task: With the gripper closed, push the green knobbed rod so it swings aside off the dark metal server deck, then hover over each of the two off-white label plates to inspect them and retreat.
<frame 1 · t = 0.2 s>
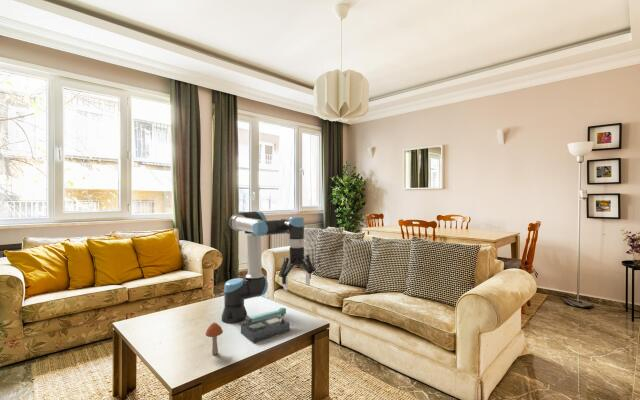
hand: (296, 287, 168), 28 cm above the table, fingers open, 13 cm apart
green knobbed rod: (266, 315, 179), point 9 cm above the table, hinge at 0.0°
mushroom: (214, 353, 156), on the table
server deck: (265, 332, 179), on the table
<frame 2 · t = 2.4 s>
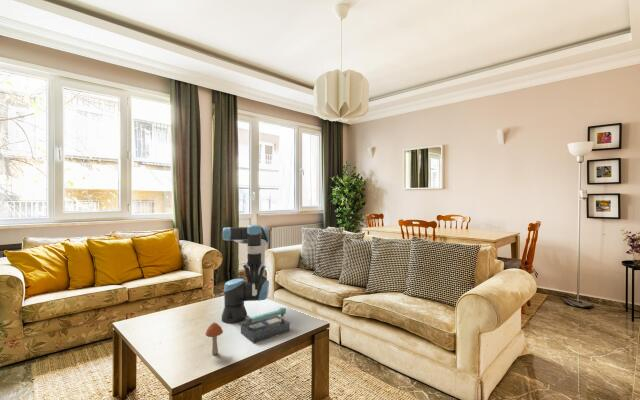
hand: (254, 295, 181), 20 cm above the table, fingers closed
nothing on the table moved.
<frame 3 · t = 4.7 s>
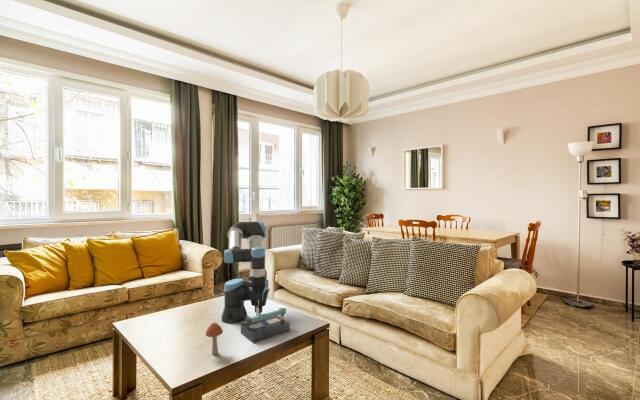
hand: (258, 318, 179), 8 cm above the table, fingers closed
green knobbed rod: (266, 315, 179), point 9 cm above the table, hinge at 0.0°, touching gripper
everything else where it was.
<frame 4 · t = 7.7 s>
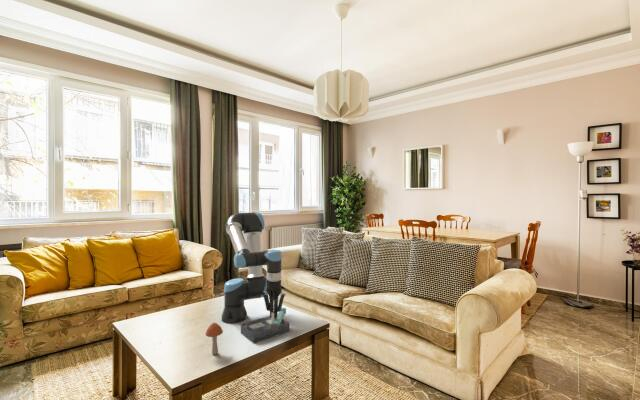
hand: (273, 323, 172), 7 cm above the table, fingers closed
green knobbed rod: (278, 318, 175), point 9 cm above the table, hinge at 47.5°, touching gripper
everything else where it was.
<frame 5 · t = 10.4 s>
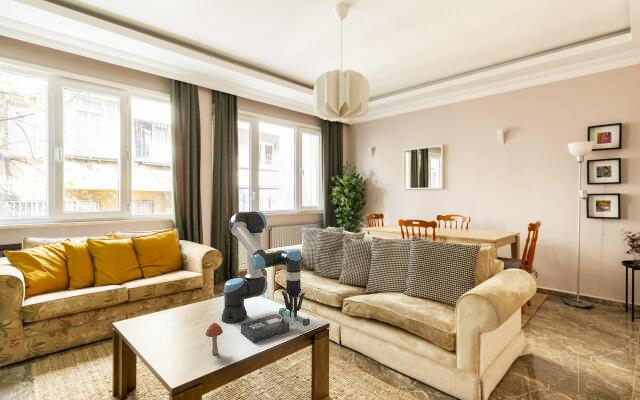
hand: (293, 322, 174), 7 cm above the table, fingers closed
green knobbed rod: (293, 316, 178), point 9 cm above the table, hinge at 94.4°, touching gripper
everything else where it was.
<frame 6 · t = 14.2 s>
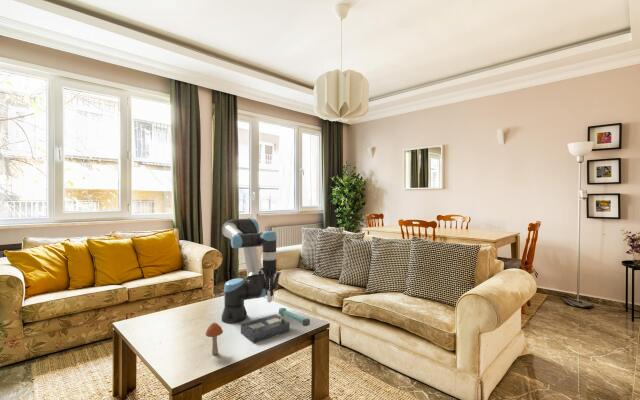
hand: (269, 301, 180), 17 cm above the table, fingers closed
green knobbed rod: (293, 316, 178), point 9 cm above the table, hinge at 94.5°
everything else where it was.
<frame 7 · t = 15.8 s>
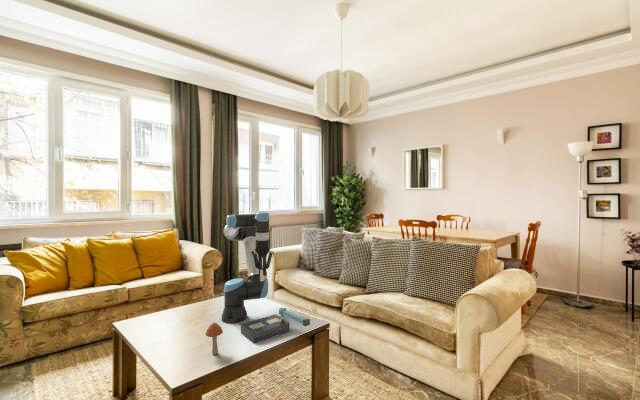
hand: (262, 280, 185), 27 cm above the table, fingers closed
nothing on the table moved.
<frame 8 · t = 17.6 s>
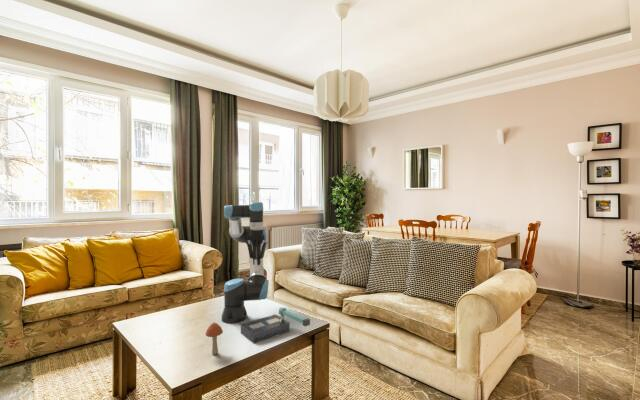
hand: (256, 270, 185), 32 cm above the table, fingers closed
nothing on the table moved.
at the end: green knobbed rod at +94° (first picture: +0°) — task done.
